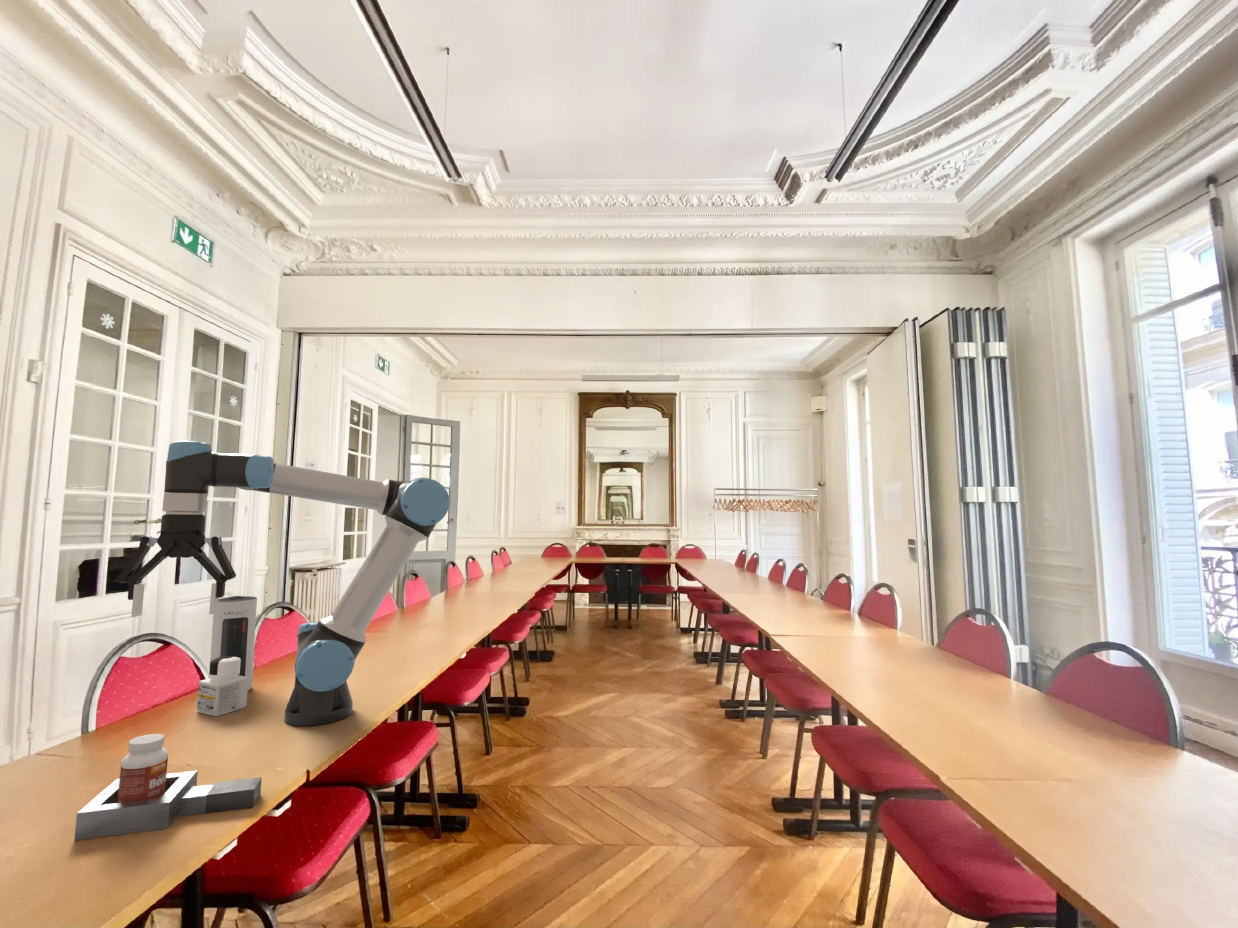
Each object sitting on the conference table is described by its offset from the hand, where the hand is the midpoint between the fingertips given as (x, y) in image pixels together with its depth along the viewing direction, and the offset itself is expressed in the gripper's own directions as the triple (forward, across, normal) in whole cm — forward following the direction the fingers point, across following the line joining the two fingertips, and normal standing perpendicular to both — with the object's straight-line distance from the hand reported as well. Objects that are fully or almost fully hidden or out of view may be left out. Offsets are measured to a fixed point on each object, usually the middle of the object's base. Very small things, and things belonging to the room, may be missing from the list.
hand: (175, 614), depth 121 cm
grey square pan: (+29, -12, +26) cm, 40 cm away
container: (+29, -2, -29) cm, 41 cm away
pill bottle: (+28, -6, +26) cm, 38 cm away
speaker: (+29, +1, -46) cm, 54 cm away
